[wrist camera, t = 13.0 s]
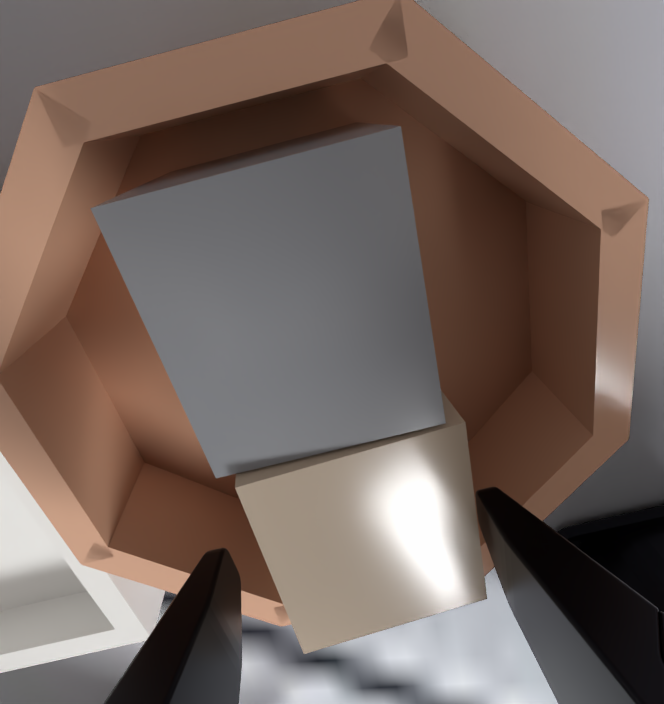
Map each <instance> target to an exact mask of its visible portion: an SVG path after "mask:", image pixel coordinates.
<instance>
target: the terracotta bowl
mask: <svg viewBox="0 0 664 704" xmlns="http://www.w3.org/2000/svg"><path fill="white" fill-rule="evenodd" d="M356 122H359V123H371V124H382V125H394V126H401V130H402V137H403V143H404V150H405V157H406V163H407V170H408V176H409V183H410V190H411V196H412V203H413V209H414V216H415V223H416V229H417V236H418V243H419V249H420V256H421V262H422V269H423V276H424V282H425V289H426V295H427V302H428V309H429V315H430V322H431V328H432V335H433V342H434V348H435V355H436V361H437V368H438V375H439V381H440V388H441V391H442V392H443V393H444V395H445V396H446V397H447V398H448V400H449V401H450V402H451V404H452V405H453V406H454V408H455V409H456V410H457V412H458V413H459V414H460V416H461V417H462V418H463V420H464V421H465V423H466V431H467V439H468V447H469V456H470V464H471V472H472V480H473V488H474V497H475V494H476V491H477V490H480V489H484V488H488V487H497V488H499V489H500V490H502V491H503V492H504V493H506V494H507V495H508V496H510V497H511V498H512V499H514V500H515V501H516V502H518V503H519V504H520V505H521V506H523V507H524V508H525V509H527V510H528V511H529V512H531V513H532V514H533V515H535V516H536V517H537V518H539V519H540V520H541V521H543V520H544V519H546V518H547V517H548V516H549V515H550V514H551V513H552V512H553V511H554V510H555V509H556V508H557V507H558V506H559V505H560V504H561V503H562V502H563V501H564V500H566V499H567V498H568V497H569V496H570V495H571V494H572V493H573V492H574V491H575V490H576V489H577V488H578V487H579V486H580V485H581V484H582V483H583V482H584V481H586V480H587V479H588V478H589V477H590V476H591V475H592V474H593V473H594V472H595V471H596V470H597V469H598V468H599V467H600V466H601V465H602V464H603V463H604V462H606V461H607V460H608V459H609V458H610V457H611V456H612V455H613V454H614V453H615V452H616V451H617V450H618V449H619V448H620V447H621V446H622V445H623V444H624V443H626V442H627V441H628V439H629V432H630V420H631V408H632V396H633V384H634V372H635V359H636V347H637V335H638V323H639V311H640V299H641V287H642V275H643V263H644V251H645V239H646V227H647V214H648V202H649V199H648V197H647V196H645V195H644V194H643V193H642V192H641V191H640V190H638V189H637V188H636V187H635V186H634V185H632V184H631V183H630V182H629V181H628V180H626V179H625V178H624V177H623V176H622V175H621V174H619V173H618V172H617V171H616V170H615V169H613V168H612V167H611V166H610V165H609V164H607V163H606V162H605V161H604V160H603V159H602V158H600V157H599V156H598V155H597V154H596V153H594V152H593V151H592V150H591V149H590V148H588V147H587V146H586V145H585V144H584V143H582V142H581V141H580V140H579V139H578V138H577V137H575V136H574V135H573V134H572V133H571V132H569V131H568V130H567V129H566V128H565V127H563V126H562V125H561V124H560V123H559V122H558V121H556V120H555V119H554V118H553V117H552V116H550V115H549V114H548V113H547V112H546V111H544V110H543V109H542V108H541V107H540V106H538V105H537V104H536V103H535V102H534V101H533V100H531V99H530V98H529V97H528V96H527V95H525V94H524V93H523V92H522V91H521V90H519V89H518V88H517V87H516V86H515V85H514V84H512V83H511V82H510V81H509V80H508V79H506V78H505V77H504V76H503V75H502V74H500V73H499V72H498V71H497V70H496V69H494V68H493V67H492V66H491V65H490V64H489V63H487V62H486V61H485V60H484V59H483V58H481V57H480V56H479V55H478V54H477V53H475V52H474V51H473V50H472V49H471V48H470V47H468V46H467V45H466V44H465V43H464V42H462V41H461V40H460V39H459V38H458V37H456V36H455V35H454V34H453V33H452V32H450V31H449V30H448V29H447V28H446V27H445V26H443V25H442V24H441V23H440V22H439V21H437V20H436V19H435V18H434V17H433V16H431V15H430V14H429V13H428V12H427V11H426V10H424V9H423V8H422V7H421V6H420V5H418V4H417V3H416V2H415V1H414V0H359V1H355V2H351V3H347V4H344V5H340V6H336V7H332V8H329V9H325V10H321V11H318V12H314V13H310V14H306V15H303V16H299V17H295V18H291V19H288V20H284V21H280V22H276V23H273V24H269V25H265V26H261V27H258V28H254V29H250V30H246V31H243V32H239V33H235V34H231V35H228V36H224V37H220V38H216V39H213V40H209V41H205V42H201V43H198V44H194V45H190V46H187V47H183V48H179V49H175V50H172V51H168V52H164V53H160V54H157V55H153V56H149V57H145V58H142V59H138V60H134V61H130V62H127V63H123V64H119V65H115V66H112V67H108V68H104V69H100V70H97V71H93V72H89V73H85V74H82V75H78V76H74V77H70V78H67V79H63V80H59V81H56V82H52V83H48V84H44V85H41V86H37V87H35V88H34V90H33V93H32V96H31V99H30V102H29V106H28V109H27V112H26V115H25V118H24V121H23V124H22V128H21V131H20V134H19V137H18V140H17V143H16V146H15V150H14V153H13V156H12V159H11V162H10V165H9V168H8V172H7V175H6V178H5V181H4V184H3V187H2V190H1V194H0V452H1V453H2V455H3V456H4V457H5V459H6V460H7V462H8V463H9V464H10V466H11V467H12V469H13V470H14V471H15V473H16V474H17V476H18V477H19V478H20V480H21V481H22V483H23V484H24V485H25V487H26V488H27V490H28V491H29V492H30V494H31V495H32V497H33V498H34V499H35V501H36V502H37V504H38V505H39V506H40V508H41V509H42V511H43V512H44V513H45V515H46V516H47V518H48V519H49V520H50V522H51V523H52V525H53V526H54V527H55V529H56V530H57V532H58V533H59V535H60V536H61V537H62V539H63V540H64V542H65V543H66V544H67V546H68V547H69V549H70V550H71V551H72V553H73V554H74V556H75V557H76V558H77V560H78V561H79V563H80V564H82V565H84V566H87V567H90V568H93V569H97V570H100V571H103V572H106V573H110V574H113V575H116V576H119V577H123V578H126V579H129V580H132V581H136V582H139V583H142V584H145V585H149V586H152V587H155V588H158V589H161V590H165V591H168V592H171V593H174V594H178V592H179V591H180V589H181V588H182V586H183V585H184V583H185V582H186V580H187V579H188V577H189V576H190V574H191V573H192V571H193V570H194V568H195V567H196V565H197V564H198V562H199V561H200V559H201V558H202V556H203V555H204V554H205V553H206V552H207V551H210V550H214V549H219V548H226V549H227V550H228V551H229V553H230V555H231V557H232V559H233V561H234V563H235V565H236V568H237V570H238V572H239V575H240V579H241V614H243V615H246V616H249V617H252V618H256V619H259V620H262V621H265V622H269V623H272V624H275V625H278V626H286V625H290V624H291V622H290V619H289V617H288V614H287V612H286V610H285V607H284V605H283V602H282V600H281V597H280V595H279V593H278V590H277V588H276V585H275V583H274V581H273V578H272V576H271V573H270V571H269V569H268V566H267V564H266V561H265V559H264V556H263V554H262V552H261V549H260V547H259V544H258V542H257V540H256V537H255V535H254V532H253V530H252V528H251V525H250V523H249V520H248V518H247V515H246V513H245V511H244V508H243V506H242V503H241V501H240V499H239V496H238V494H237V491H236V489H235V480H236V474H232V475H228V476H224V477H220V478H216V477H215V475H214V473H213V471H212V469H211V467H210V464H209V462H208V460H207V458H206V456H205V454H204V452H203V449H202V447H201V445H200V443H199V441H198V439H197V437H196V434H195V432H194V430H193V428H192V426H191V424H190V421H189V419H188V417H187V415H186V413H185V411H184V409H183V406H182V404H181V402H180V400H179V398H178V396H177V394H176V391H175V389H174V387H173V385H172V383H171V381H170V378H169V376H168V374H167V372H166V370H165V368H164V366H163V363H162V361H161V359H160V357H159V355H158V353H157V351H156V348H155V346H154V344H153V342H152V340H151V338H150V335H149V333H148V331H147V329H146V327H145V325H144V323H143V320H142V318H141V316H140V314H139V312H138V310H137V308H136V305H135V303H134V301H133V299H132V297H131V295H130V292H129V290H128V288H127V286H126V284H125V282H124V280H123V277H122V275H121V273H120V271H119V269H118V267H117V265H116V262H115V260H114V258H113V256H112V254H111V252H110V249H109V247H108V245H107V243H106V241H105V239H104V237H103V234H102V232H101V230H100V228H99V226H98V224H97V222H96V219H95V217H94V215H93V213H92V211H91V209H90V208H92V207H94V206H96V205H99V204H101V203H103V202H105V201H107V200H110V199H112V198H114V197H116V196H118V195H121V194H123V193H125V192H127V191H129V190H132V189H134V188H136V187H138V186H140V185H143V184H145V183H147V182H149V181H151V180H154V179H156V178H158V177H160V176H162V175H165V174H167V173H169V172H171V171H175V170H179V169H183V168H186V167H190V166H194V165H198V164H201V163H205V162H209V161H213V160H216V159H220V158H224V157H228V156H232V155H235V154H239V153H243V152H247V151H250V150H254V149H258V148H262V147H265V146H269V145H273V144H277V143H280V142H284V141H288V140H292V139H295V138H299V137H303V136H307V135H310V134H314V133H318V132H322V131H326V130H329V129H333V128H337V127H341V126H344V125H348V124H352V123H356ZM475 505H476V497H475ZM476 513H477V505H476ZM477 521H478V514H477ZM478 529H479V538H480V546H481V554H482V562H483V570H484V576H486V575H487V574H488V573H489V572H490V571H491V570H492V569H493V568H494V567H495V566H494V564H493V561H492V558H491V556H490V553H489V550H488V548H487V545H486V542H485V540H484V537H483V534H482V531H481V529H480V525H479V521H478Z"/></svg>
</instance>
